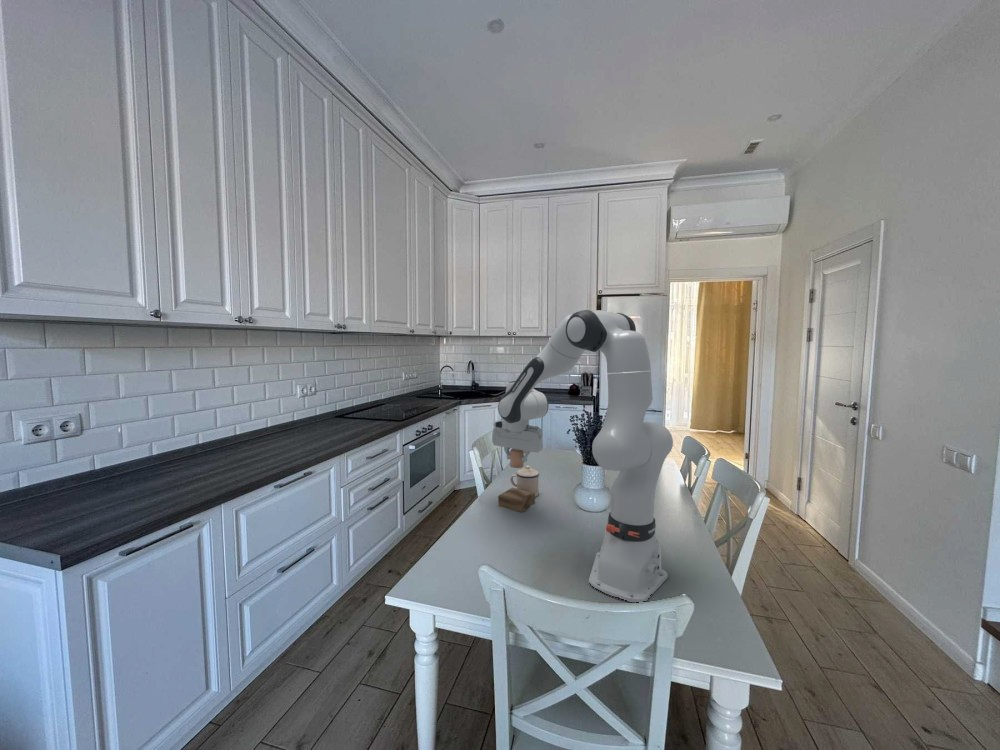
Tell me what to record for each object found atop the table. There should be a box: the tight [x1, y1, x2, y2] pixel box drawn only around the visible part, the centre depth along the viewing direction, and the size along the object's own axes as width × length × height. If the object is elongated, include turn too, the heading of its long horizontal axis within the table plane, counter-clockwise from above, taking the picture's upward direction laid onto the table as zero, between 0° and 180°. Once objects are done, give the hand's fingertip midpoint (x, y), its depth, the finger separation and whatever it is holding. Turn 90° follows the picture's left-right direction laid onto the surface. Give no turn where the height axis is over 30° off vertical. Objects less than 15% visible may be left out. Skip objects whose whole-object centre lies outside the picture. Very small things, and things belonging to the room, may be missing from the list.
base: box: [497, 487, 536, 513], centre depth 148 cm, size 10×10×4 cm
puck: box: [509, 448, 525, 469], centre depth 147 cm, size 5×5×6 cm
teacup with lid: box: [510, 464, 540, 498], centre depth 158 cm, size 12×9×12 cm
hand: (516, 460), depth 147 cm, fingers closed on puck, 5 cm apart
